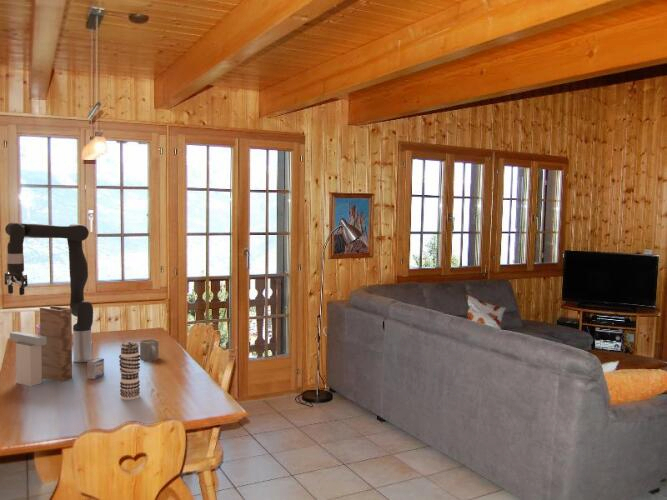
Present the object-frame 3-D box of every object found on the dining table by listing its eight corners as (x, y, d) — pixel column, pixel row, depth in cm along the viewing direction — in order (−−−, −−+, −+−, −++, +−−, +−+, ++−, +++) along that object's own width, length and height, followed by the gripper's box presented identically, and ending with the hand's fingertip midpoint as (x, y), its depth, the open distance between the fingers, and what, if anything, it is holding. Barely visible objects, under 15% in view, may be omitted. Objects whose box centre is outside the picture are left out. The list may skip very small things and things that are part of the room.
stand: (52, 373, 307) (51, 305, 304) (72, 378, 301) (71, 308, 298) (40, 377, 301) (39, 307, 298) (60, 381, 295) (59, 310, 292)
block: (27, 379, 296) (27, 339, 295) (41, 383, 292) (41, 342, 290) (16, 383, 291) (15, 342, 289) (30, 386, 287) (30, 344, 285)
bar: (16, 338, 296) (16, 331, 296) (46, 344, 287) (46, 336, 287) (9, 340, 293) (9, 332, 293) (39, 345, 284) (39, 338, 283)
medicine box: (95, 379, 300) (95, 362, 299) (87, 378, 301) (86, 361, 300) (104, 375, 308) (104, 358, 307) (96, 374, 309) (96, 357, 308)
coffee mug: (138, 357, 344) (138, 339, 343) (157, 355, 348) (157, 338, 347) (142, 363, 331) (142, 345, 331) (160, 361, 336) (160, 343, 335)
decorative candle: (128, 401, 269) (128, 345, 267) (114, 397, 274) (114, 342, 272) (144, 395, 277) (144, 342, 275) (131, 392, 282) (131, 339, 280)
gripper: (31, 262, 305) (32, 294, 306) (13, 260, 311) (13, 292, 313) (18, 263, 298) (18, 296, 300) (-1, 262, 305) (0, 293, 306)
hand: (16, 294), depth 306 cm, fingers open, 8 cm apart
